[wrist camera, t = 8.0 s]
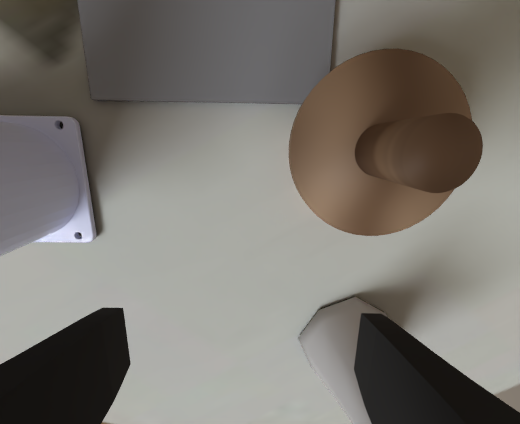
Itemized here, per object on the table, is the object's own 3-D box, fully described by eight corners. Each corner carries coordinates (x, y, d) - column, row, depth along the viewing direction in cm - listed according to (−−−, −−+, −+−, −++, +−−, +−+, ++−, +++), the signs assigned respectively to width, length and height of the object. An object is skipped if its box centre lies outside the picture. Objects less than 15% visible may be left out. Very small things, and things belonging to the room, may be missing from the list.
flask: (281, 334, 20) (302, 508, 11) (356, 279, 19) (457, 418, 9) (336, 389, 22) (399, 587, 12) (410, 341, 21) (545, 517, 11)
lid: (292, 236, 15) (310, 285, 10) (284, 61, 13) (302, 7, 8) (449, 224, 15) (550, 268, 10) (471, 47, 13) (618, -19, 7)
